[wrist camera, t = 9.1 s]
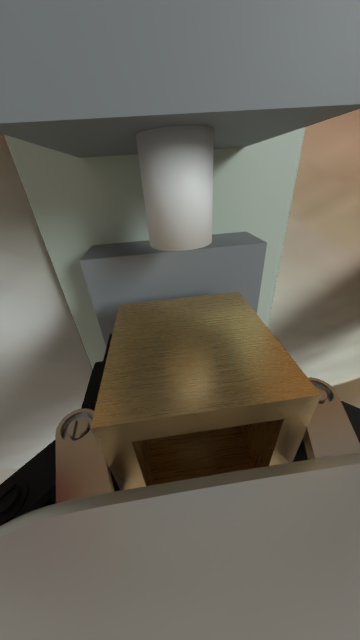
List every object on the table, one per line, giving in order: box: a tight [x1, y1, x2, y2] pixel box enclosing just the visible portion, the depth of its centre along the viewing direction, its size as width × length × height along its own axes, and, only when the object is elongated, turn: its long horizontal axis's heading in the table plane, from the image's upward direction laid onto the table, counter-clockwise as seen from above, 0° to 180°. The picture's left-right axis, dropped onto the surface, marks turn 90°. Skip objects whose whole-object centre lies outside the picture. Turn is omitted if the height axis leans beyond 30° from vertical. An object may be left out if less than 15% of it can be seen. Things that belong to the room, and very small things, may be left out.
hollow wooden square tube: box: [91, 292, 321, 490], centre depth 9 cm, size 6×6×6 cm
